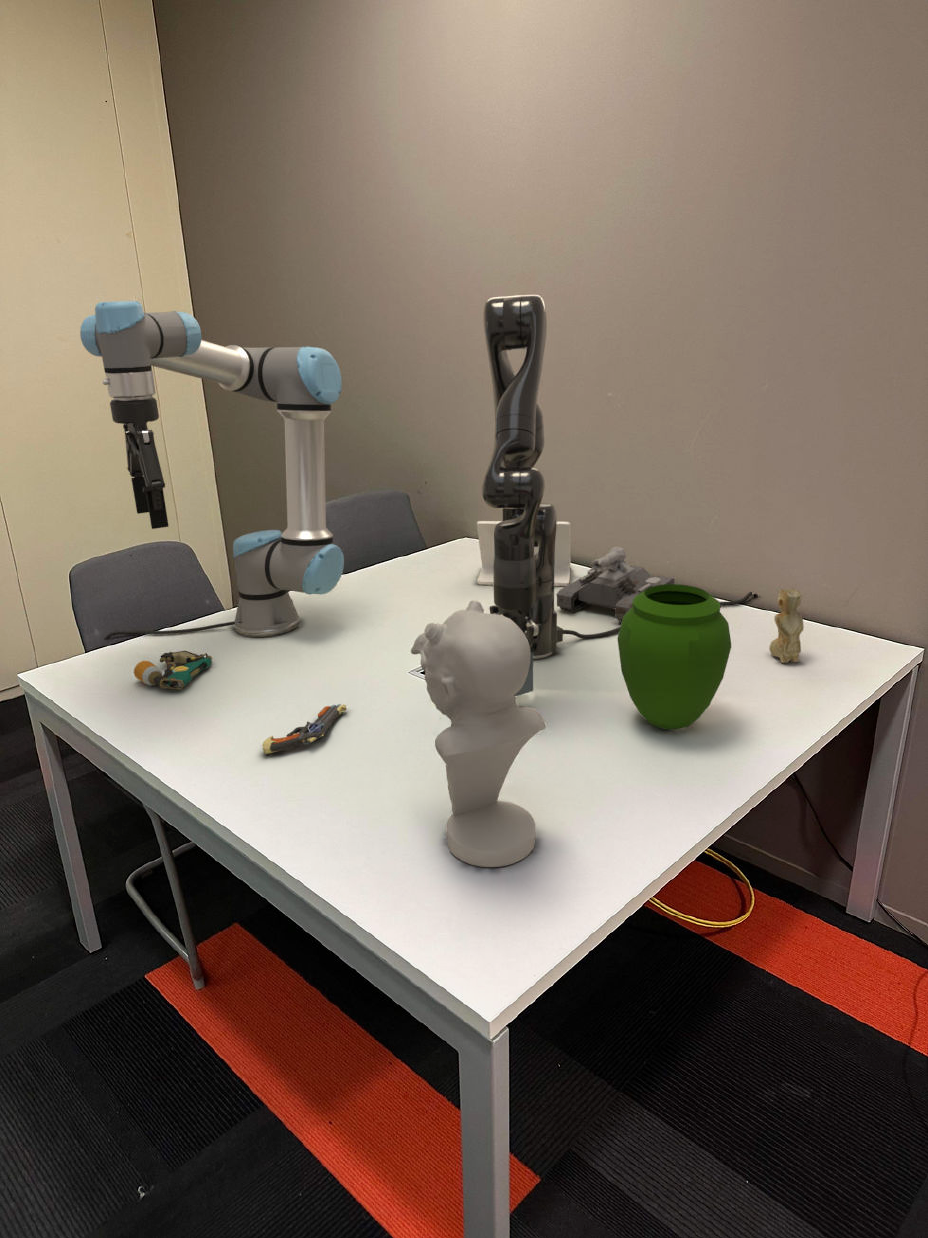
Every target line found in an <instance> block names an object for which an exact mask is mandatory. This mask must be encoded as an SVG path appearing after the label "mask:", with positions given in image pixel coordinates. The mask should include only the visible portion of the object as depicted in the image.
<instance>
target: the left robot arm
mask: <svg viewBox="0 0 928 1238" xmlns="http://www.w3.org/2000/svg"><path fill="white" fill-rule="evenodd" d="M94 313H95V314H91V315H89V316H87V317H85V318H84V319H83V320H82V322H81V324H80V331H79V333H80V335H79V336H80V341H81V343H82V346H84V349H85V350H86V351H87V352H88V353H89V354H91V355H93V356H95V357H99V358H101V360H102V364H103V370H104V373H105V375H104V376H105V377H106V378H104V379H102V384H103V385H104V386H107V392H108V393H107V394H108V396H109V397H110V398H112V399H111V400H110V402H109V405H110V406H109V407H110V412H111V413H110V414H111V417H112V421H113V422H114V423H116V424H121V425H122V429H123V431H124V432H123V433H124V439H125V440H124V441H125V450H126V451H125V453H126V461H127V468H126V469H127V471H128V472H129V476H130V477H131V485H132V491H133V496H134V503H135V509H136V513H137V514H138V515H139V514H147V513H148V514H149V520H150V527H151V529H152V530H155V529H162V528H169V520H168V513H167V508H166V507H167V506H166V500H165V494H164V489H165V487H166V482H165V480H164V476H163V472H162V468H161V463H160V459H159V454H158V451H157V447H156V442H155V437H154V434H155V433H154V431H153V430H152V429H149V427H148V422H149V423H151V422H155V421H157V420H158V419H159V418H160V414H159V406H158V401H157V398H155V397H154V395H155V394H156V386H155V379H154V373H153V372H154V371H153V368H152V367H154V368H158V369H162V370H166V371H170V372H174V373H177V374H181V375H186V376H189V377H193V378H197V379H201V380H206V381H209V382H214V383H217V384H218V385H219V387H220V388H222V389H224V390H226V391H229V392H233V393H236V394H239V395H244V396H246V397H250V398H253V399H257V400H261V401H265V402H271V403H272V402H273V403H276V411H277V413H279V414H280V416H281V417H282V418H283V420H284V444H285V445H284V448H285V483H286V487H285V488H286V516H287V517H286V519H287V521H286V522H287V527H286V529H284V531H283V532H282V531H281V530H278V529H266V530H259V531H254V532H249V533H246V534H243V535H241V536H239V537H237V538H235V539H234V541H233V543H232V552H233V553H232V554H233V555H232V558H233V565H234V571H235V578H236V584H237V591H238V592H237V593H238V603H237V606H236V612H235V617H234V620H233V621H228V622H227V621H226V622H222V623H216V624H211V625H206V626H205V625H204V626H200V627H193V628H185V629H172V630H171V629H170V630H115V631H112V632H109V633H108V634H107V635H106V636H105V637H104V638H103V641H107V640H109V639H110V638H111V637H113V636H116V635H127V636H128V635H129V636H130V635H171V634H173V635H174V634H175V635H176V634H185V633H193V632H201V631H207V630H213V629H217V628H223V627H229V626H230V627H231V626H234V630H235V632H236V633H237V634H239V635H241V636H244V637H250V638H267V637H274V636H280V635H283V634H286V633H289V632H292V631H293V630H295V629H296V628H297V627H298V626H299V625H300V615H299V613H298V610H297V609H296V606H295V604H294V601H293V599H292V598H291V595H290V593H289V591H290V592H295V593H303V594H305V595H327V594H328V593H331V592H332V591H333V590H334V589H335V587H337V585H338V583H339V582H340V580H341V578H342V575H343V572H344V567H345V557H344V553H343V552H342V549H341V548H340V547H339V546H337V545H336V544H334V535H333V533H332V532H331V530H329V529H328V527H327V511H326V509H327V508H326V506H327V505H326V503H327V501H326V455H325V454H326V452H325V451H326V449H325V448H326V447H325V445H326V444H325V420H326V418H327V417H328V416H329V415H330V414H331V412H332V404H334V403H336V402H337V401H338V399H339V398H340V395H341V393H342V387H343V380H342V374H341V370H340V367H339V364H338V362H337V361H336V360H335V358H334V356H333V355H332V354H331V353H330V351H327V350H326V349H324V348H321V347H313V346H308V345H307V346H285V347H283V346H282V347H277V346H276V347H274V346H268V347H267V346H266V347H265V346H264V347H245V346H244V347H243V346H239V345H236V344H229V345H227V346H223V345H220V344H216V343H214V342H210V341H206V340H204V339H202V337H203V336H202V331H201V326H200V324H199V322H198V321H197V319H196V318H195V317H194V316H193V315H192V314H190V313H188V312H185V311H177V310H173V311H172V310H171V311H163V312H160V311H159V312H144V309H143V305H142V303H141V302H140V301H138V300H121V301H119V300H118V301H117V300H116V301H100V302H98V303H97V304H95V307H94Z"/></svg>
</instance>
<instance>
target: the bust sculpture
mask: <svg viewBox="0 0 928 1238" xmlns="http://www.w3.org/2000/svg"><path fill="white" fill-rule="evenodd" d="M530 653H531V652H530V646H529V643H528V640H527V638H526V636H525V634H524V633H523V632H522V630H521V629H520V628H519V627H518V626H517V625H516V624H515V623H514V622H513V621H512V620H511V619H509V618H507V617H505V616H502V615H497V614H490V613H485V609H484V607H483V605H482V603H481V602H480V601H478V600H473V599H472V600H470V601H469V603H468V605H467V607H466V609H460V610H457V611H455V612H453V613H451V615H449V616H448V617H447V618H446V619H445V620H444V622H442V624H441V623H435V622H430V623H428V624H427V625H426V626H425V628H424V632H423V633H421V634H419V635H418V636H417V637H416V638H415V640H414V642H413V645H412V647H411V649H410V654H412V655H420V667H421V669H422V670H423V672H424V681H425V682H426V690H427V693H428V696H429V698H430V701H431V702H432V704H434V706H435V708H436V710H438V711H439V712H440V713H441V714H442V716H446V717H447V718H448V719H449V720H450V726H448V727H446V728H445V729H443V730H442V731H441V732H440V733H439V734H438V735H436V738H435V741H434V748H435V749H436V752H437V753H438V755H439V757H440V758H441V760H442V761H443V762H444V763H445V771H446V781H447V790H448V796H449V800H450V803H451V810H452V813H451V814H450V815H449V817H448V819H447V822H446V844H447V847H448V849H449V851H450V852H451V854H452V855H453V856H454V857H456V858H457V859H459V860H460V861H462V862H463V863H466V864H469V865H471V866H476V867H483V868H498V867H505V866H509V865H512V864H517V862H520V861H521V860H523V859H525V858H527V856H528V855H530V854H531V852H532V851H533V849H535V848H534V847H535V845H536V822H535V821H536V820H535V819H534V817H533V816H532V814H531V813H530V812H529V811H528V810H526V809H525V808H524V807H522V806H520V805H517V804H515V803H513V802H509V801H504V800H499V796H500V793H501V790H502V788H503V785H504V783H505V780H506V778H507V776H508V773H509V771H510V769H511V768H512V765H513V763H514V761H515V760H516V759H517V756H518V755H519V753H520V752H521V750H522V749H523V748H524V747H525V745H526V744H527V743H528V742H529V741H530V740H531V739H532V738H533V737H535V735H537V734H538V733H539V732H541V731H544V730H545V729H546V728H547V725H546V723H545V720H544V718H543V717H542V714H541V713H540V712H539V711H538V710H537V709H535V708H533V707H530V706H518V705H517V701H516V699H517V698H516V697H514V695H515V694H516V693H517V692H518V691H519V690H520V689H521V688H522V686H523V685H524V683H525V680H526V678H527V675H528V671H529V666H530V656H531V655H530Z"/></svg>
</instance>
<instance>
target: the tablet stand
mask: <svg viewBox="0 0 928 1238" xmlns="http://www.w3.org/2000/svg"><path fill="white" fill-rule="evenodd" d="M502 521H503V520H477V522H476V531H477V537H478V544H479V551H480V557H481V558H480V559H481V570H480V573H479V575H478V577H477V580H476V581H477V582H476V584H478V585H484V586H485V585H486V586H487V585H489V586H490V585H491V586H494V579H493V566H494V555H495V554H494V529H495V526H496V525H497V524H498V523H500V522H502ZM538 551H539V549H538V547H534V555H535V554H536V553H538ZM571 560H572V558H571V522H569V521H557V525H556V540H555V566H554V587H556V586H557V587H566V586H567V585H569V584H570V580H571V579H570V578H571V565H572V564H571Z"/></svg>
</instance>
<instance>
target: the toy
mask: <svg viewBox="0 0 928 1238" xmlns="http://www.w3.org/2000/svg"><path fill="white" fill-rule="evenodd" d="M626 557H627V556H626V551H625V549H624V548H622V547H621V546H614V547H612V548H611V549H610V550H609V552H608V553H607V554H605V555H604V556H601V557H599V558H598V559H597V557H596V558H594V559H593V560H592V561H590V562H589V563H590V564H591V565H592V567H591V568H590V569H589V570H587V573H586V575H584V576H582V577H580V578H578V579H577V580H575V581H573V582H570V583H569V585H567V586H563V587H562V588H560V589H559V590H558V591H557V592H556V607H558V608H559V609H560V610H562V611H566V612H572V613H575V612H577V611H579V610H581V609H582V608H585V607H586V606H588V605H592V606H598V607H602V608H603V607H604V608H609V609H613V610H614V618H615V619H617V620H618V621H621V622H622V620H623V616H624V615H625V614H626V613H627V612H628V611H629V610H630V609H631V608H632V607H633V599H634V597H635V596H637V595H639V594H640V593H642V592H644V591H645V590H646V589H648V588H650V587H653V586H658V585H667V584H675V580H676V579H675V578H673V577H668V576H663V575H656V576H655V577H654V576H651V574H650V573H649V572H648V571H647V570H646V568H644V567H641V566H635V565H629V564H628V563H627V562H626V561H625V559H626Z"/></svg>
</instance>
